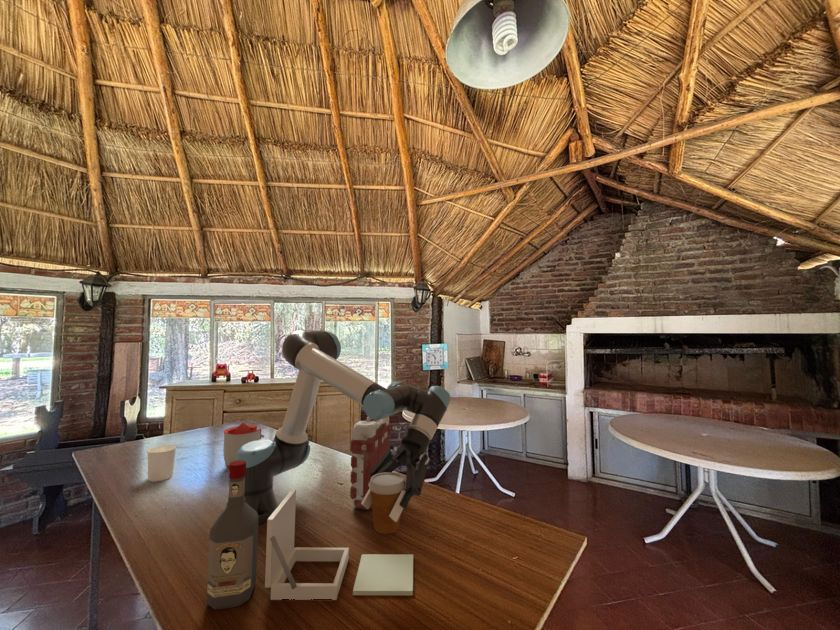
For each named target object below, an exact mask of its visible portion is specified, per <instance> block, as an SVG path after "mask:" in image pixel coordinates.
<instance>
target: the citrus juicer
mask: <svg viewBox="0 0 840 630" xmlns="http://www.w3.org/2000/svg"><path fill="white" fill-rule="evenodd" d="M263 438H265V435H264V434H262V428H261V427H260V428H258V429H257V425H253V424H251V425H250V424H248V425H247V424H246V423H245V422H242V423H239V425H238V426H233V427H232V426H231V427H229V428H226V429H224V430H223V460H224V464H225V467H226V469H227V470H228V471H229V464H230V463H231V462H233V461H236V457H237V452H238V450H239V448H240V447H242V446H243V445H245V444H247V443H249V442H252V441H255V440H256V441H258V440H261V439H263Z"/></svg>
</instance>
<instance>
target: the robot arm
mask: <svg viewBox="0 0 840 630" xmlns="http://www.w3.org/2000/svg"><path fill="white" fill-rule="evenodd" d="M338 337H339V336H337V335H336V334H335V333H333V332H332V331H327V330H322V329H321V330H310V329H309V330H305V329H303V330H302V329H299V330H295V331H293V332H291V333H289V334H288V335H287V336H286V337H285V338H284V340H283V343H282V344H281V345H282V346H281V349H282V350H281V352H282V356H283V358H284V359H285V361H286V362H287V363H288V364H290V365H291V366H292V367H294V368H295V369H296V370H298V372H297V376H296V379H295V382H294V386H293V390H292V393H291V396H290V400H289V403H288V405H287V409H286V412H285V416H284V419H283V423H282V426H281V427H280V428H278V429H277V430H276V431H275V434H274V438H273V440H272V439H267V438H265V439H263V438H261V439H260V440H258V441H256V440H255V441H252V442H249V443H247V444H245V445H243V446H242V447H240V448H239V450H238V452H237V457H236V461H238V460H244V461H246V476H245V486H244V497H245V502H246V503H247V504H248V505H249V506H250V507H252V508H253V509H254V510H255V511H256V512H257V514H258V516H259V517H258V525H260V524H263V523H265V522H267V519H268V518H269V517H270V516H271V514H272V513H273V512H274V511H275V509H276V508H277V507H278V502H277V499H276V496H275V491H274V489H273V488H274V487H273V484H274V483H273V482H274V477H276V476H278V475H280V474H282V473H285V472H287V471H289V470H293V469H296V468H297V467H300V465H302V464H305V462H306V461H307V459H308V458H309V457H310V456H309V455H310V451H311V445H310V440H309V435H308V433H307V432H306V431H307V427H308V424H309V421H310V419H311V415H312V411H313V408H314V405H315V403H316V398H317V395H318V392H319V388H320V387H321V381H323V383H326V384H327V385H328V386H330V387H332V388H334V389H335V390H337V391H338V392H339V393H341V394H343V395H344V396H346V397H348V398H349V399H351V400H352V401H354V402H356V403H357V404H359V405H360V406H362V407H363V408H362V409H363V412H364V413H365V414H366V416H367V417H369V418H371V419H374V420H377V419H383V418H387V417H389V418H390V417H391V416H393V415H395V414H398V413H400V412H403V411H407V412H410V413H413V414H415V415H414V417H412V420H411V422H410V423H409V424H408V428H407V429H406V430H405V432H404V434H403V436H402V438H401V443H400V444H399V445H398V446H393V444H391V445H390V444H389V448H388V450H387V452H386V453H385V454H384V456H383V457H382V458H381V459H380V461H379V462H378V463H377V464H376V465H375V467H374V468H373V469H372V470H371V472H370V473H369V475H370V476H371V477H372V476H374V475H376V474H379V473H385V472H392V473H394V471H395V470H396V469H397V468H400V467H401V466H406V476H405V482H406V485H405V488H404V491H403V490H402V491H401V493H400V495H399V497H398V499H397V501H396V503H395V505H394V507H393V509H392V511H391V513H390V515H389V517H390V518H391V519H392V520H393V521H395V522H397V520H398V518H399V516H400V517H401V514H402V512H403V510H404V509H406V508H407V506H408V504H409V502H410V501H411V499H412V497H414V496H417V497H419V496H421V494H422V489H423V486H424V482H425V478H426V473H427V471H428V470H427V469H428V466H429V465H430V464H431V462H432V460H431V458H430V457H429V456H428V454H426V452H427V450H428V448H429V446H430V443H431V441H432V439H433V437H434V435H435V433H436V431H437V429H438V427H439V426H440V423H441V421H442V419H443V417H444V415H445V413H446V412H447V411H448V407H449V405H450V402H451V399H452V397H451V394H450V392H449V391H447V390H446V389H445V388H444V387H442V386H439V385H432V386H430V387H429V389H428V390H425V389H421V388H418V387H415V386H412V385H410V384H407V383H405V382H401V381H396V380H395V381H392V382H390V384H388V386H387V387H384V386H382V385H381V384H378V383H377V382H375V381H374V380H372V379H370V378H369V377H367V376H365V375H363V374H362V373H360V372H358V371H356V370H355V369H353V368H351V367H349V366H348V365H346V364H344V363H343V362H341V361H339V360H338V359H339V357H340V356H341V352H342V345H341V341H340V340H339V338H338ZM418 462H419V463H418ZM417 464H418V465H417ZM371 503H372V500H371V490H370V488H369V487H368V489H367V494H366V495H365V497H364V499H363V501H362V502H361V504H362V505H363V506H364V507H365V508H366V510H370V509H369V507H370V505H371Z"/></svg>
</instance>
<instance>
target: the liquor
mask: <svg viewBox="0 0 840 630" xmlns="http://www.w3.org/2000/svg"><path fill="white" fill-rule="evenodd" d="M245 476H246V461H244V460H238V461H233V462H231V463H230V464H229V470H228V479H229V481H228V482H229V483H228V498H227V500H228V501H227V503H226V506H225V508H224V509H223V510H222V511H221V512H220V514H219V515H218V516H217V518H216V520H215V522H214V523H213V525H212V526H211V528H210V531H209V543H208V561H207V562H208V563H207V564H208V565H207V566H208V567H207V582H206V583H207V584H206V604H207V605H208V607H210V606H211V609H213V610H214V609H215V610H214V611H217V610H216V609H218V610H224V609H231V608H237V607H240V606H242V605H244V603H246V602H247V601H249V600H250V599H251V598H252V597H251V596H252V594H253V590H254V587H255V586H256V585H255V584H256V581H257V565H258V563H257V562H258V543H259V541H258V540H259V539H258V537H259V524H258V517H259V516H258V514H257V512H256V511H255V510H254V509H253V508H252V507H250V506H249V505H248V504H247V503H246V502H245V497H244V486H245Z"/></svg>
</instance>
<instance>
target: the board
mask: <svg viewBox="0 0 840 630" xmlns="http://www.w3.org/2000/svg"><path fill="white" fill-rule="evenodd" d="M352 596H414V554H413V553H411V554H395V553H390V554H389V553H387V554H384V553H383V554H381V553H380V554H379V553H377V554H375V553H374V554H370V553H368V554H363V553H362V554H361V557H360V561H359V564H358V569H357V574H356V577H355V580H354V585H353V589H352Z"/></svg>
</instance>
